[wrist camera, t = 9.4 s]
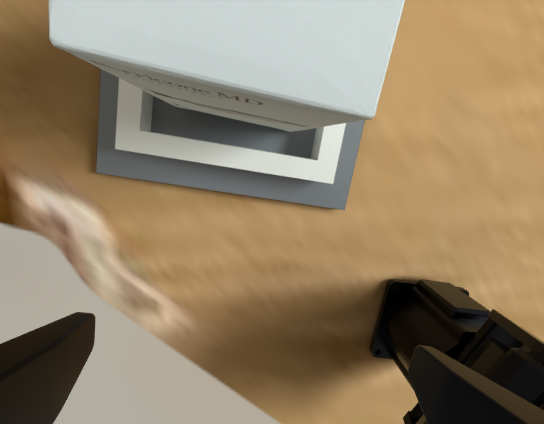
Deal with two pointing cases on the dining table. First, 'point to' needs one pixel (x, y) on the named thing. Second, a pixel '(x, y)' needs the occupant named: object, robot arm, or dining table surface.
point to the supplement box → (240, 54)
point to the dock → (221, 150)
